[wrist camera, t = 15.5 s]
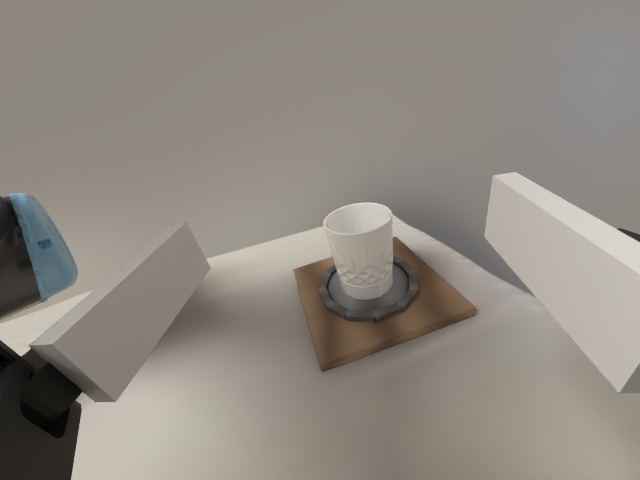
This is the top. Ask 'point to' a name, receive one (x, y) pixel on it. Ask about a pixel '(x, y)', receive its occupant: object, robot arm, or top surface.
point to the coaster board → (376, 308)
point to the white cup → (362, 248)
